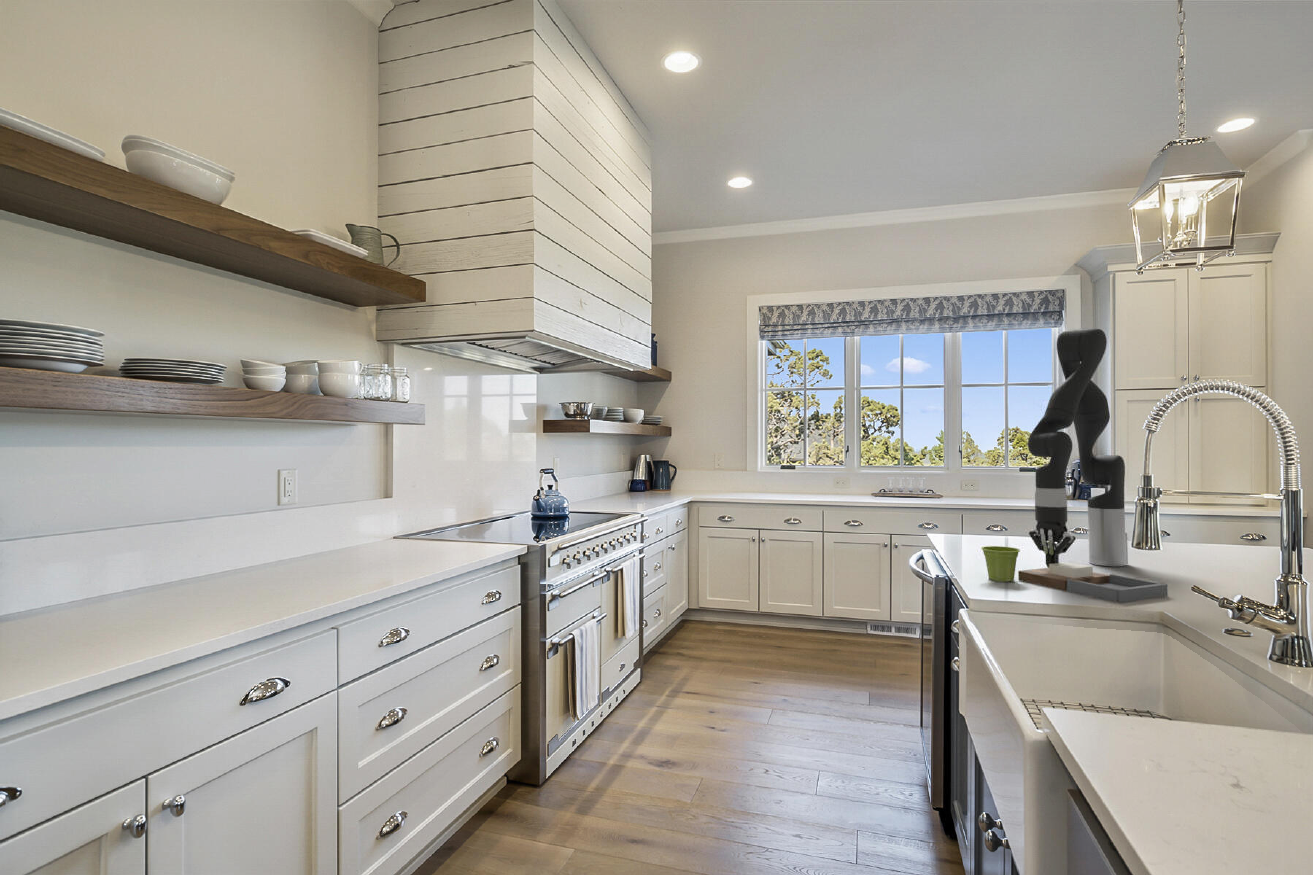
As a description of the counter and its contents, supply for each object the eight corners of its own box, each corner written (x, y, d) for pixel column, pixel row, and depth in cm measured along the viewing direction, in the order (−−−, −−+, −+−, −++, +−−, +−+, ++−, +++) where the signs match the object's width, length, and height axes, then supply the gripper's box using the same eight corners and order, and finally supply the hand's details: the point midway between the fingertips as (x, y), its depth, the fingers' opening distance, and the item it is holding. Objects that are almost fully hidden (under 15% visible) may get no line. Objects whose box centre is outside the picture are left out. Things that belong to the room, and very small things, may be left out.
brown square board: (1061, 575, 183) (1061, 566, 183) (1110, 584, 170) (1110, 575, 170) (1018, 579, 178) (1018, 570, 178) (1065, 590, 164) (1065, 580, 164)
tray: (1112, 585, 169) (1111, 573, 169) (1167, 596, 156) (1167, 584, 156) (1066, 590, 164) (1065, 579, 164) (1120, 603, 151) (1119, 590, 151)
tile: (1068, 571, 176) (1067, 561, 176) (1093, 575, 170) (1092, 566, 170) (1049, 573, 174) (1048, 564, 174) (1073, 578, 167) (1073, 568, 167)
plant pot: (983, 575, 185) (982, 544, 185) (1021, 578, 180) (1020, 547, 180) (980, 581, 177) (980, 549, 177) (1020, 584, 172) (1019, 552, 172)
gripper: (1083, 505, 171) (1085, 571, 171) (1040, 501, 184) (1041, 562, 184) (1062, 507, 169) (1063, 573, 169) (1019, 503, 182) (1021, 564, 182)
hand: (1052, 567), depth 176 cm, fingers closed
